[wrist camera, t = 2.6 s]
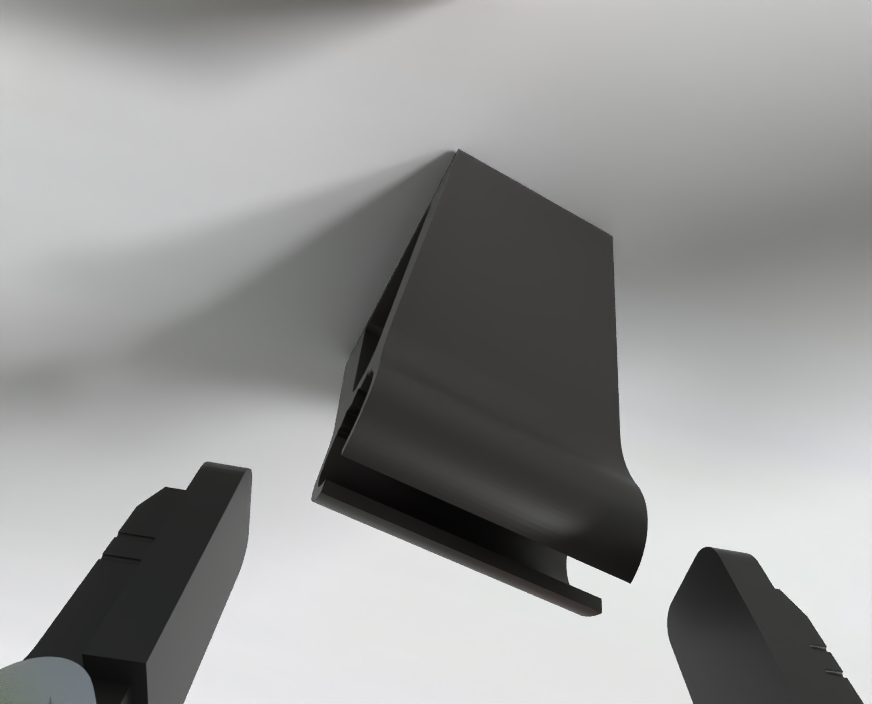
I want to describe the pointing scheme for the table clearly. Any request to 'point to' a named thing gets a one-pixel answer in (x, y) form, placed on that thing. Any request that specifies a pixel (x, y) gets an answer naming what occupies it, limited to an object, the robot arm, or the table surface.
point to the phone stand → (493, 395)
